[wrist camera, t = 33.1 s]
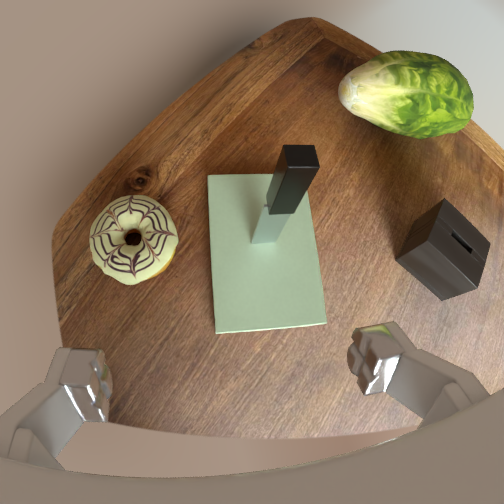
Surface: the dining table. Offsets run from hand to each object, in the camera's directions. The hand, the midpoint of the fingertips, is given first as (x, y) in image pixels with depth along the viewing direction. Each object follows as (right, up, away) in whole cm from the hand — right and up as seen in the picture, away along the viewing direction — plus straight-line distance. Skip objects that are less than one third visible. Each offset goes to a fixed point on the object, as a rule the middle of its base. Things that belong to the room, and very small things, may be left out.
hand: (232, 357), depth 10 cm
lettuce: (+26, +27, +41) cm, 56 cm away
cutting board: (+2, +4, +31) cm, 31 cm away
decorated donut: (-14, +4, +29) cm, 32 cm away
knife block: (+27, +2, +33) cm, 43 cm away
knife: (+2, +5, +29) cm, 30 cm away
